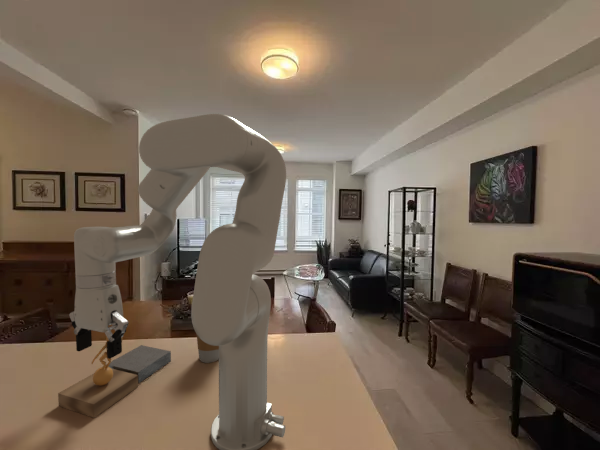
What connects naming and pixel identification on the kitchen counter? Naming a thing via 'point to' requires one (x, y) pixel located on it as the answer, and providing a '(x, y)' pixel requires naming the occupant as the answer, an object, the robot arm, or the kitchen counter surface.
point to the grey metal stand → (142, 361)
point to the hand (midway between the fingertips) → (99, 352)
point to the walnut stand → (97, 393)
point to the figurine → (103, 369)
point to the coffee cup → (207, 351)
